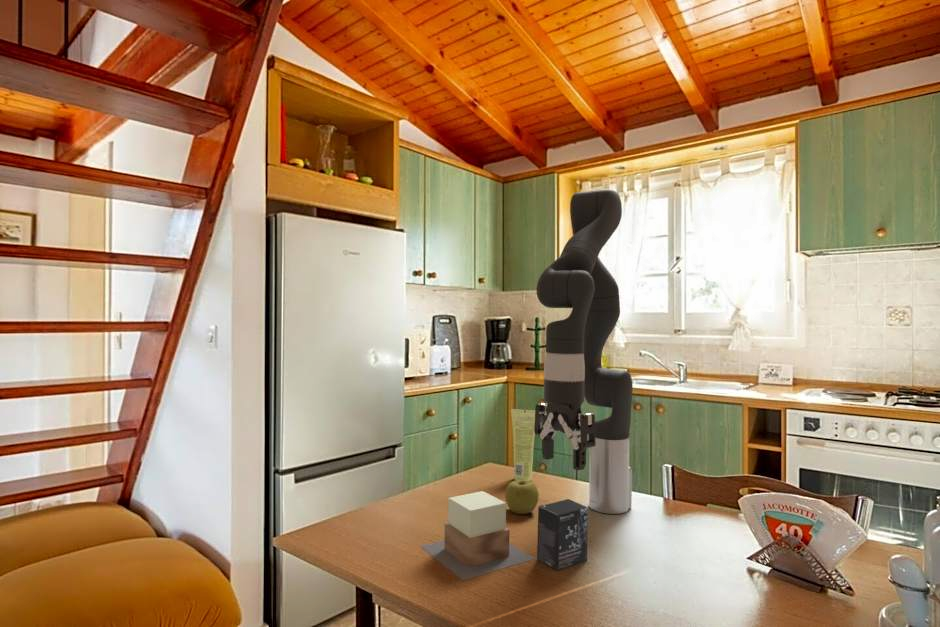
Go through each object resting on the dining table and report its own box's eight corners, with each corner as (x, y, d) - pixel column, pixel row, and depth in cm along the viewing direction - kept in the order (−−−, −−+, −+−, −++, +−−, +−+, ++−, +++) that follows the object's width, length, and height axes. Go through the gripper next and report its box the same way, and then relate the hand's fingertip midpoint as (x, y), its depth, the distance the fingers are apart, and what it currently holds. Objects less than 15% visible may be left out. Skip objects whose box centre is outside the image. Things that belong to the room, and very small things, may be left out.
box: (557, 573, 98) (557, 514, 98) (536, 561, 103) (536, 505, 103) (588, 563, 102) (589, 506, 102) (567, 551, 107) (567, 497, 107)
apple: (498, 513, 127) (498, 482, 127) (518, 504, 133) (518, 475, 133) (525, 522, 122) (525, 489, 122) (545, 512, 128) (545, 481, 128)
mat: (487, 531, 117) (487, 529, 117) (535, 560, 103) (535, 558, 103) (420, 548, 108) (420, 546, 108) (462, 582, 95) (462, 580, 95)
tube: (525, 475, 157) (526, 407, 157) (537, 480, 153) (538, 409, 153) (509, 478, 154) (510, 409, 154) (521, 483, 150) (522, 411, 150)
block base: (482, 539, 112) (483, 514, 112) (509, 555, 104) (509, 529, 104) (444, 548, 107) (444, 523, 107) (469, 567, 99) (469, 539, 99)
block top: (482, 515, 111) (482, 491, 111) (505, 529, 104) (506, 502, 104) (448, 523, 107) (448, 497, 107) (470, 538, 100) (470, 510, 100)
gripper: (606, 380, 99) (605, 470, 99) (554, 372, 111) (553, 453, 111) (575, 382, 95) (574, 476, 95) (524, 374, 107) (523, 457, 107)
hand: (562, 463), depth 103 cm, fingers open, 8 cm apart
